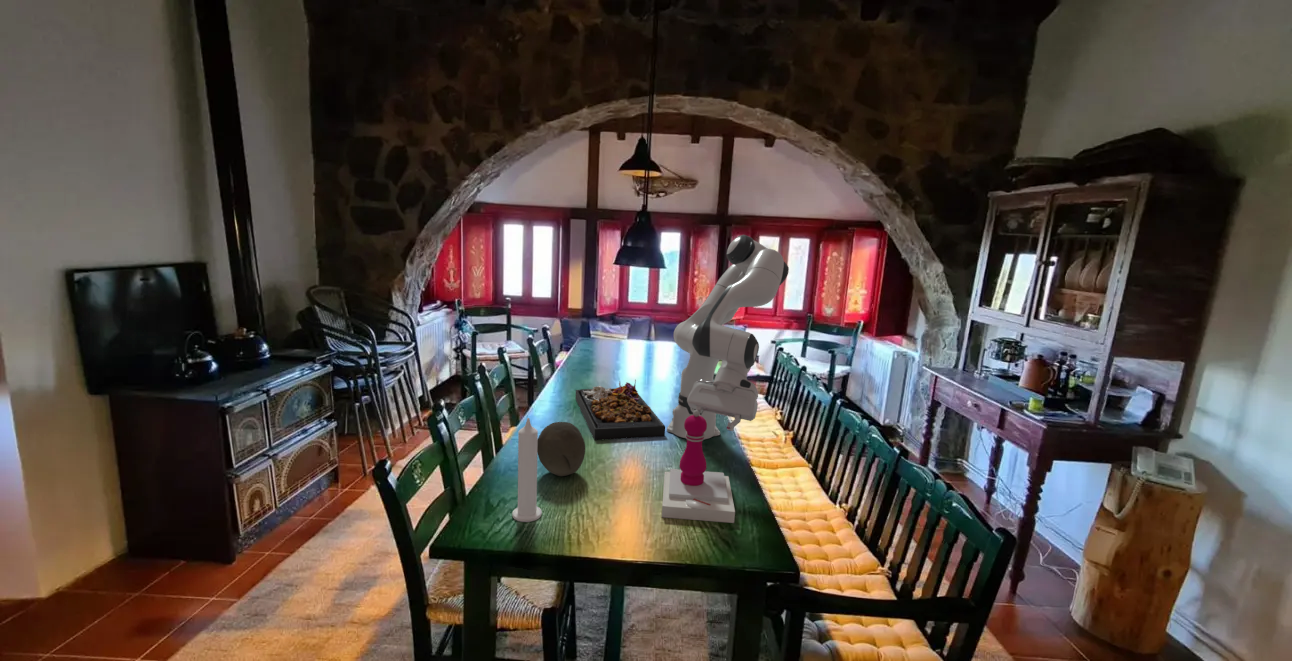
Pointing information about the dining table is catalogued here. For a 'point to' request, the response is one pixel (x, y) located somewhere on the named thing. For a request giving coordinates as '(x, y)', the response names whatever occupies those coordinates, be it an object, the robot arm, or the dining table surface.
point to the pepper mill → (693, 451)
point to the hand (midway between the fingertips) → (713, 426)
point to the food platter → (618, 413)
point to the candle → (527, 475)
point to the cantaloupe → (561, 448)
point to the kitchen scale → (698, 498)
